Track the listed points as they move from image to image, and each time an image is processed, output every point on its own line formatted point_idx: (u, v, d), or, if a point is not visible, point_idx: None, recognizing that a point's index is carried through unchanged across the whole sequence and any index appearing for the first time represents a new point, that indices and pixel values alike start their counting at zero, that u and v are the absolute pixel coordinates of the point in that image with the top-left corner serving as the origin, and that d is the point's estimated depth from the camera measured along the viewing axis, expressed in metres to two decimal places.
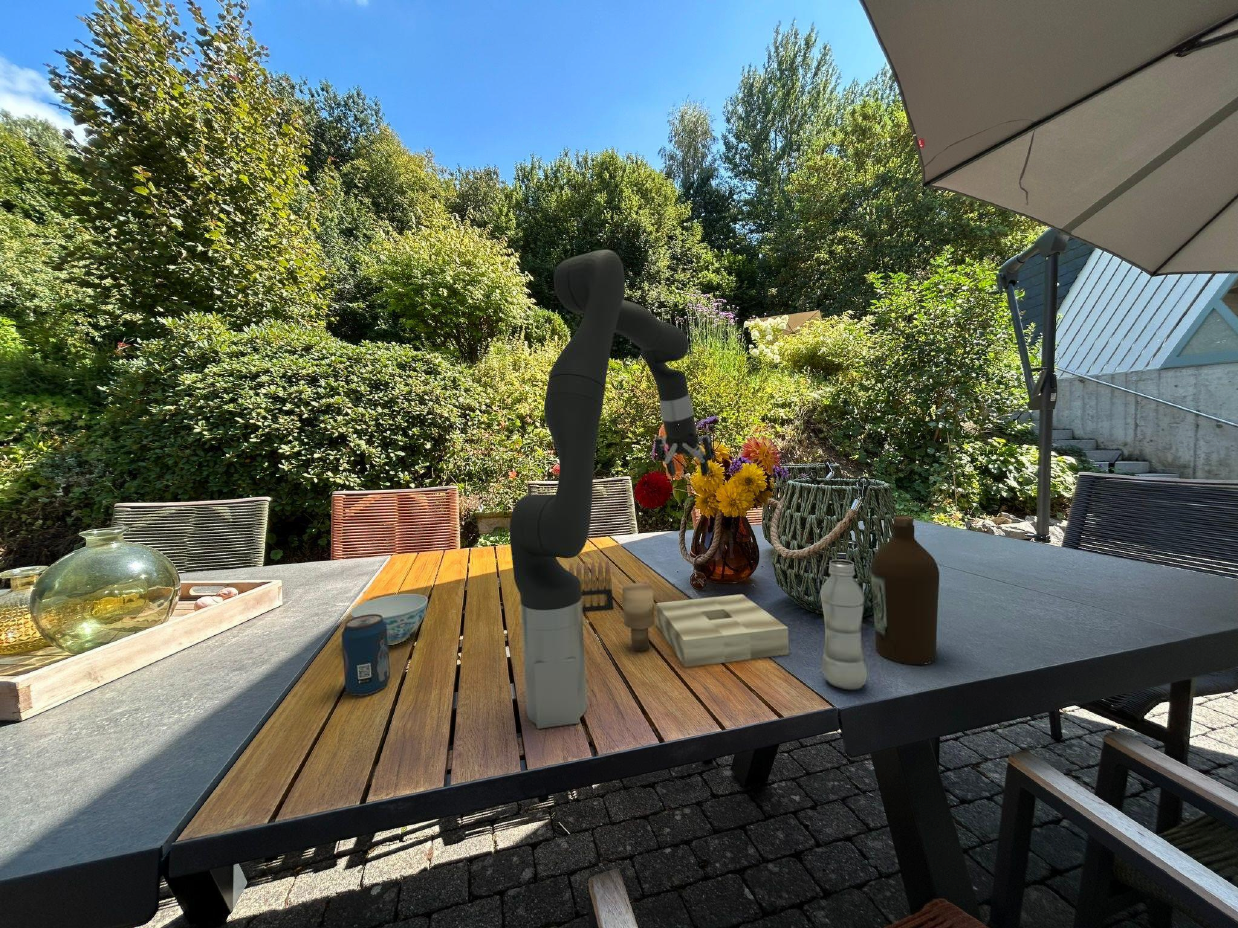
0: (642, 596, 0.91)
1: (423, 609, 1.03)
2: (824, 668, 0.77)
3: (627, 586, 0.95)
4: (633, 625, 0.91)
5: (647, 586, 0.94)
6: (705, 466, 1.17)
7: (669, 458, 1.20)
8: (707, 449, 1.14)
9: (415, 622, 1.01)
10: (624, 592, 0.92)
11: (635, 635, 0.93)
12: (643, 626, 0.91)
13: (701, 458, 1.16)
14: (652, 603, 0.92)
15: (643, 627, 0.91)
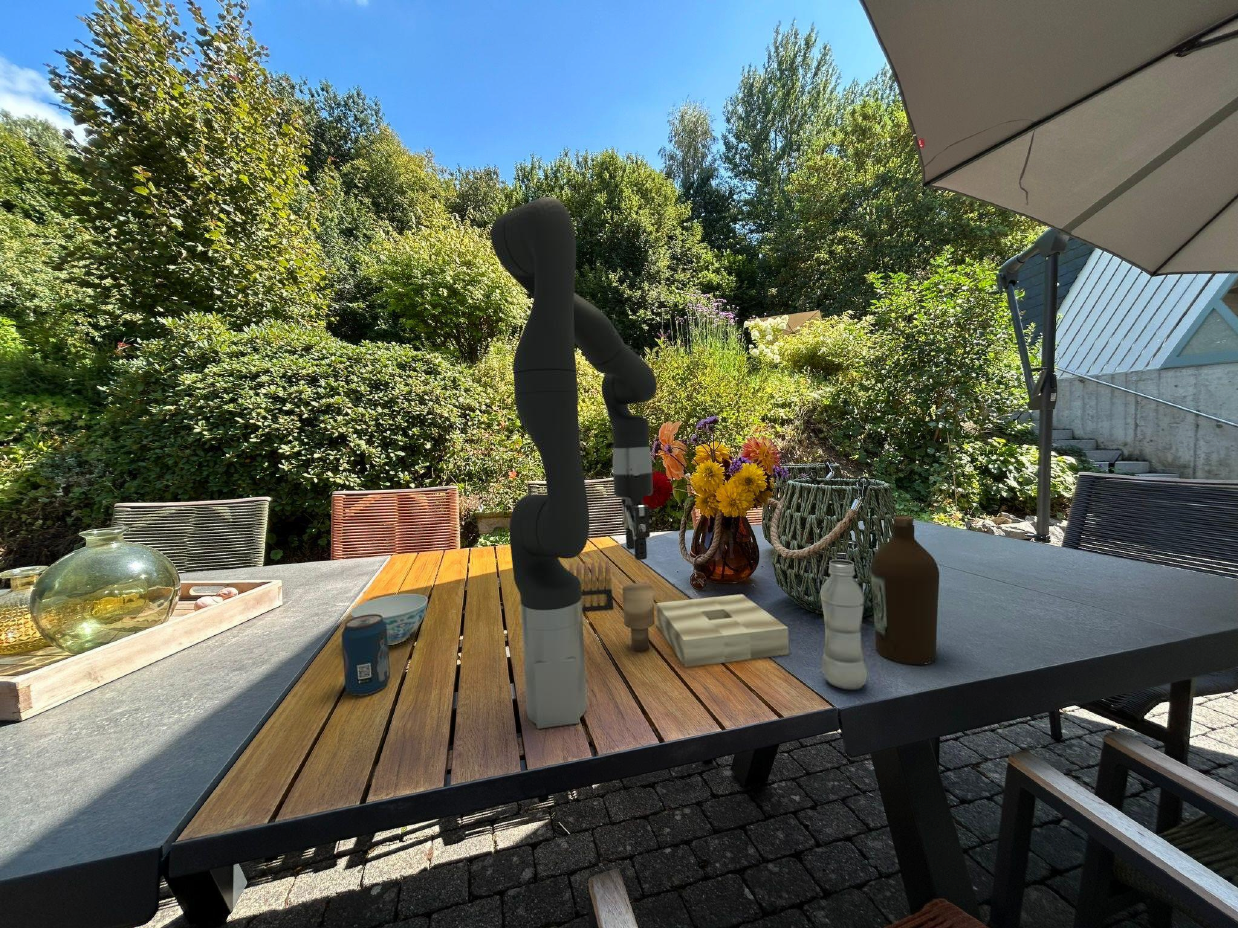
0: (642, 596, 0.91)
1: (423, 609, 1.03)
2: (824, 668, 0.77)
3: (627, 586, 0.95)
4: (633, 625, 0.91)
5: (647, 586, 0.94)
6: (637, 546, 0.88)
7: (625, 524, 0.96)
8: (635, 522, 0.86)
9: (415, 622, 1.01)
10: (624, 592, 0.92)
11: (635, 635, 0.93)
12: (643, 626, 0.91)
13: (633, 533, 0.88)
14: (652, 603, 0.92)
15: (643, 627, 0.91)
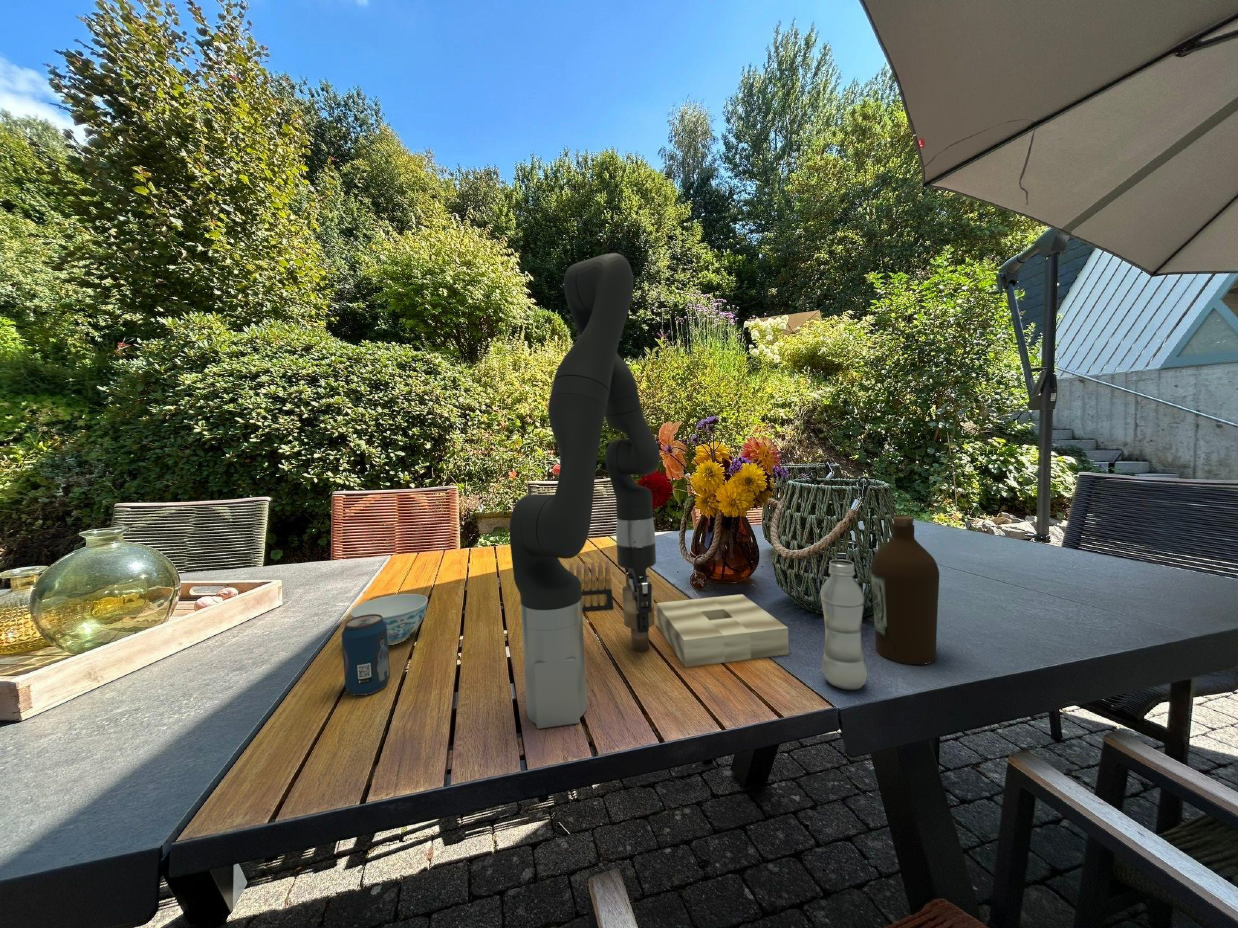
0: None
1: (423, 609, 1.03)
2: (824, 668, 0.77)
3: (627, 586, 0.95)
4: (633, 625, 0.91)
5: None
6: (640, 620, 0.90)
7: None
8: (638, 599, 0.87)
9: (415, 622, 1.01)
10: (624, 592, 0.92)
11: (635, 635, 0.92)
12: None
13: (636, 607, 0.90)
14: (652, 603, 0.92)
15: None
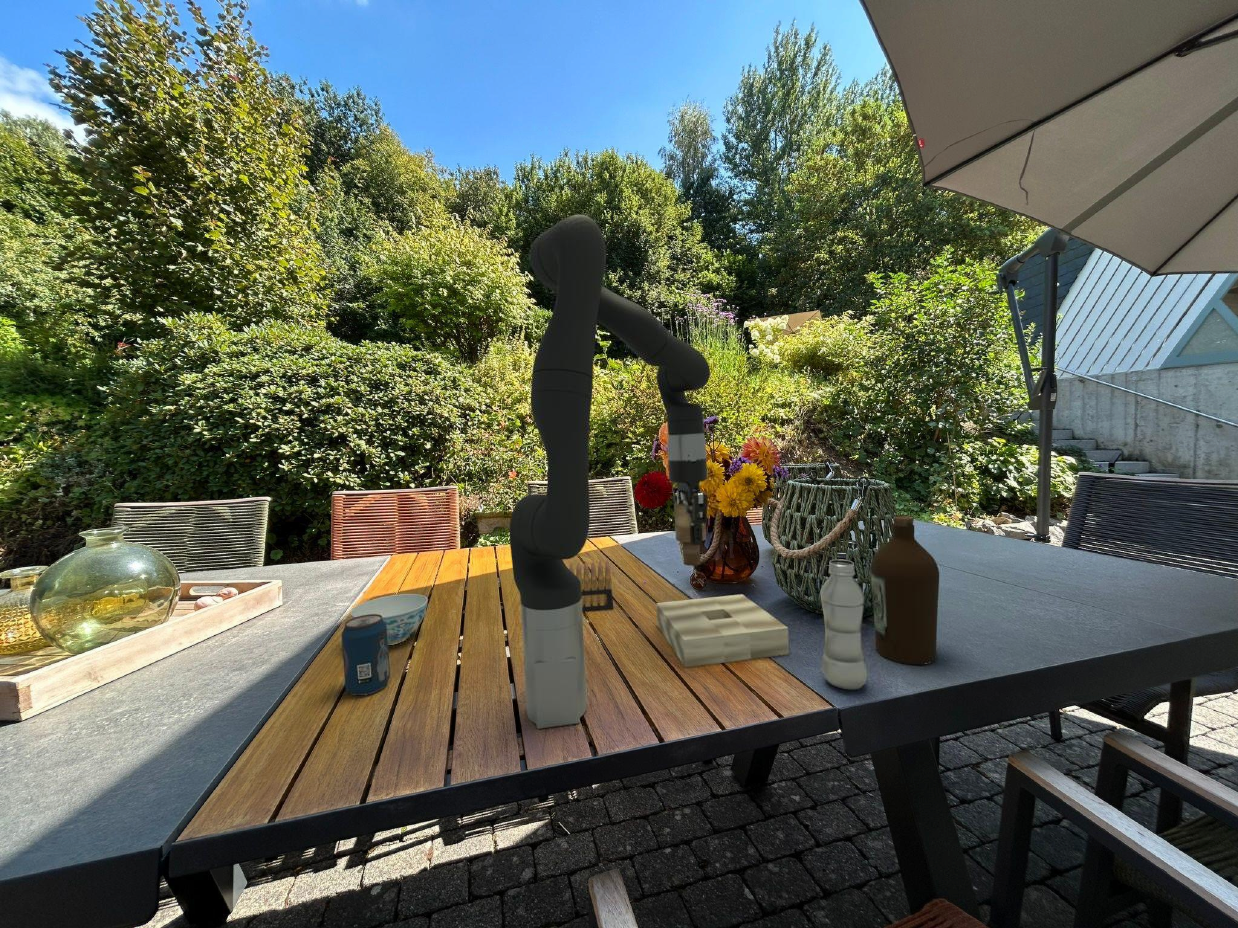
0: None
1: (423, 609, 1.03)
2: (824, 668, 0.77)
3: None
4: (687, 539, 0.93)
5: None
6: (694, 532, 0.91)
7: None
8: (693, 509, 0.89)
9: (415, 622, 1.01)
10: (677, 507, 0.94)
11: (688, 550, 0.94)
12: None
13: (690, 519, 0.91)
14: None
15: None
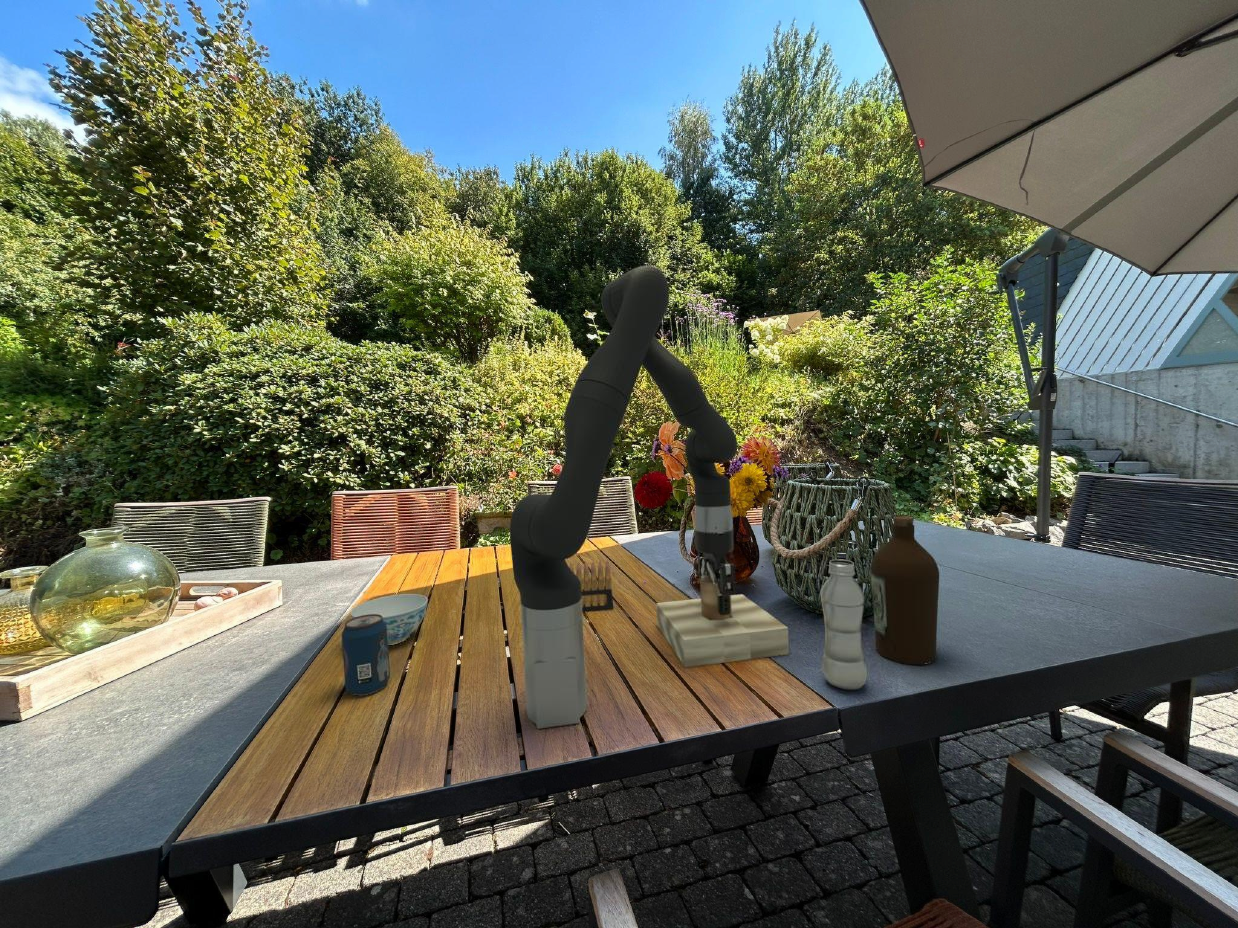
0: None
1: (423, 609, 1.03)
2: (824, 668, 0.77)
3: (704, 578, 0.97)
4: (713, 616, 0.94)
5: None
6: (722, 602, 0.91)
7: (703, 577, 1.00)
8: (721, 580, 0.89)
9: (415, 622, 1.01)
10: (703, 584, 0.95)
11: None
12: (722, 617, 0.94)
13: (718, 589, 0.92)
14: (730, 595, 0.95)
15: (722, 618, 0.94)
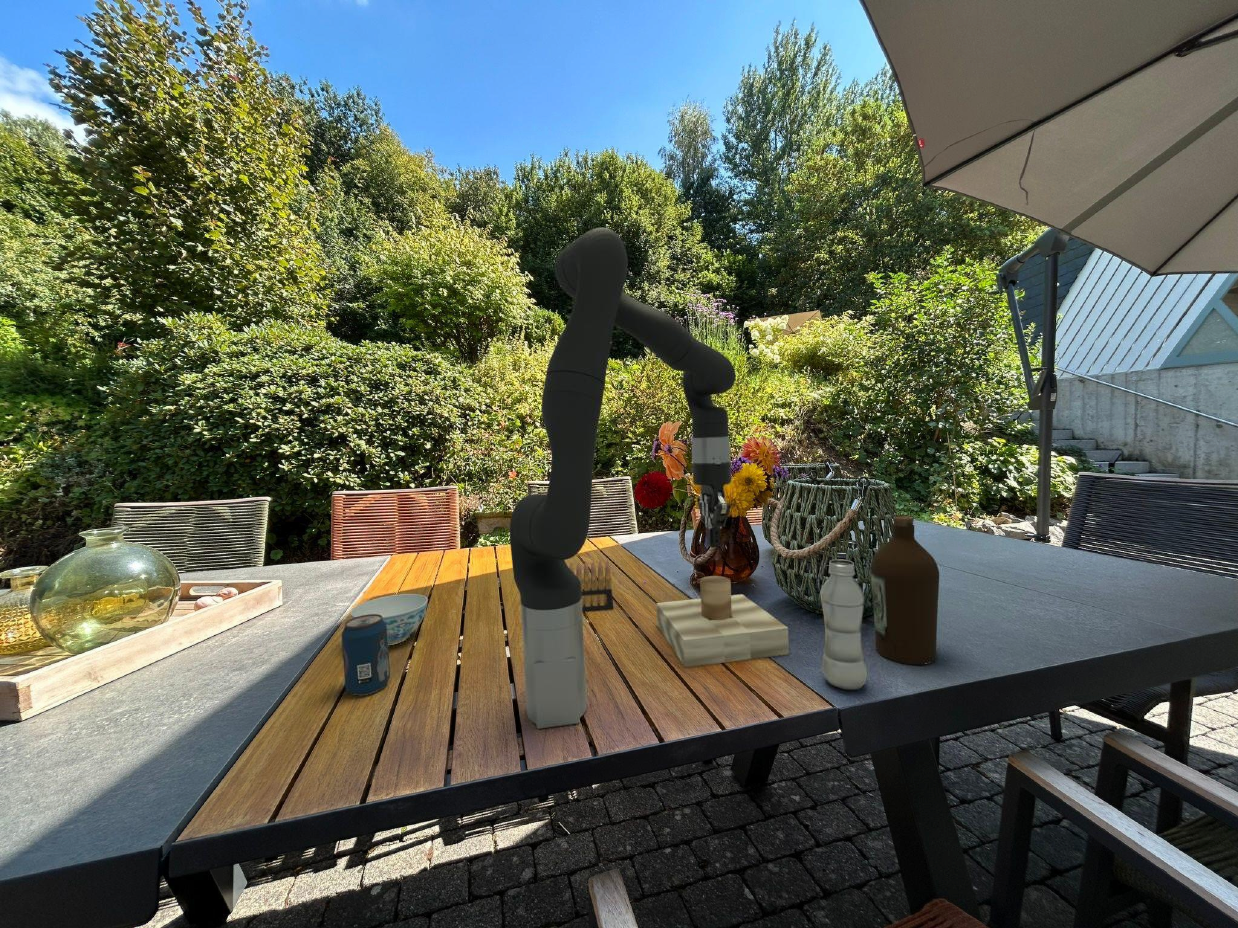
0: (722, 588, 0.93)
1: (423, 609, 1.03)
2: (824, 668, 0.77)
3: (704, 578, 0.97)
4: (713, 616, 0.94)
5: (724, 578, 0.97)
6: (712, 534, 0.94)
7: (707, 521, 0.95)
8: (715, 516, 0.91)
9: (415, 622, 1.01)
10: (703, 584, 0.95)
11: None
12: (722, 617, 0.94)
13: (709, 522, 0.95)
14: (730, 595, 0.95)
15: (722, 618, 0.94)
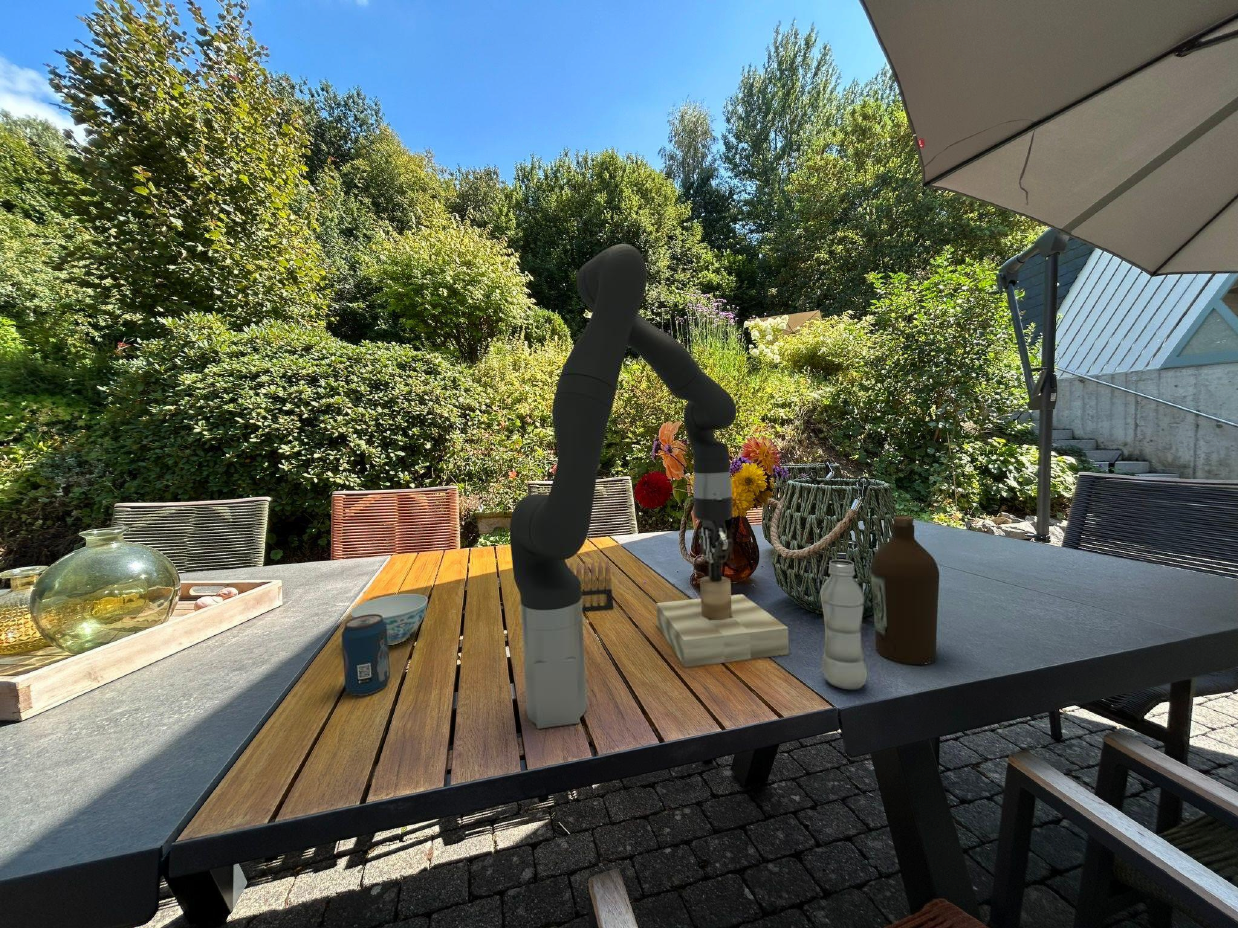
0: (722, 588, 0.93)
1: (423, 609, 1.03)
2: (824, 668, 0.77)
3: (704, 578, 0.97)
4: (713, 616, 0.94)
5: (724, 578, 0.97)
6: (714, 569, 0.95)
7: (708, 555, 0.96)
8: (716, 552, 0.92)
9: (415, 622, 1.01)
10: (703, 584, 0.95)
11: None
12: (722, 617, 0.94)
13: (710, 556, 0.95)
14: (730, 595, 0.95)
15: (722, 618, 0.94)
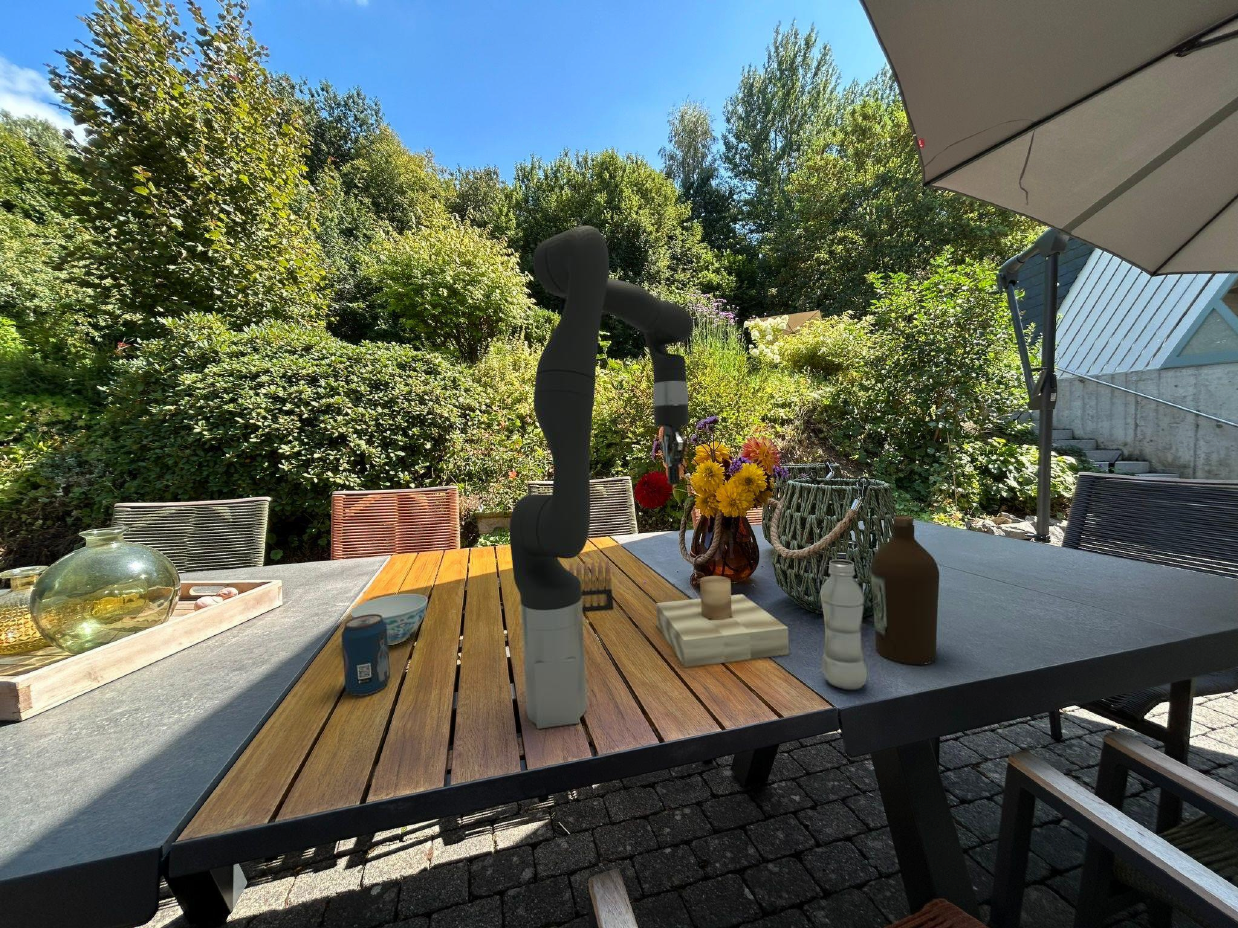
0: (722, 588, 0.93)
1: (423, 609, 1.03)
2: (824, 668, 0.77)
3: (704, 578, 0.97)
4: (713, 616, 0.94)
5: (724, 578, 0.97)
6: (672, 472, 1.03)
7: (667, 460, 1.04)
8: (672, 453, 1.00)
9: (415, 622, 1.01)
10: (703, 584, 0.95)
11: None
12: (722, 617, 0.94)
13: (668, 461, 1.03)
14: (730, 595, 0.95)
15: (722, 618, 0.94)
